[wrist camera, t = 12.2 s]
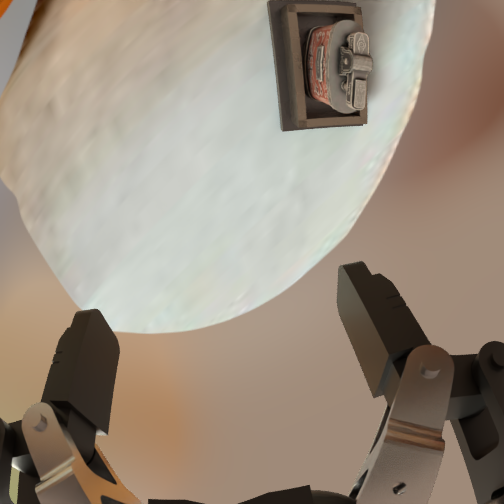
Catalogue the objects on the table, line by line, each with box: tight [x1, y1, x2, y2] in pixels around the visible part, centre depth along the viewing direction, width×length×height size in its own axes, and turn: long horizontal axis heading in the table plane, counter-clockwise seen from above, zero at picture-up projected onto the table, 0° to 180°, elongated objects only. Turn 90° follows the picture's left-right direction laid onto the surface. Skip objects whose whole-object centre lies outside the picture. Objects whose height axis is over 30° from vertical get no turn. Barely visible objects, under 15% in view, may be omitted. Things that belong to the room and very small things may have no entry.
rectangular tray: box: [267, 0, 367, 132], centre depth 26 cm, size 9×14×4 cm, turn 7°
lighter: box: [303, 20, 373, 114], centre depth 23 cm, size 8×3×10 cm, turn 0°
